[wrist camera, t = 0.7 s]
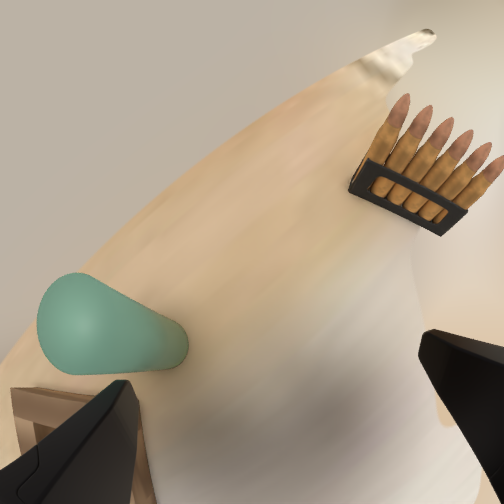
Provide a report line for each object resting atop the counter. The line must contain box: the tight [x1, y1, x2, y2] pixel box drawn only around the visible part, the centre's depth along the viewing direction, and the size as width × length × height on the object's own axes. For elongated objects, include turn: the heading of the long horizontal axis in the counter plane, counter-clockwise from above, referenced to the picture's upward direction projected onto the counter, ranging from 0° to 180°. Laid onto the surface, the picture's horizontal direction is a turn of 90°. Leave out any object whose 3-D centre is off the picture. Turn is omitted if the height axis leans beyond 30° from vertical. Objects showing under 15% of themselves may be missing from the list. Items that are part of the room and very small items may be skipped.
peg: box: [37, 273, 188, 375], centre depth 15 cm, size 4×4×12 cm
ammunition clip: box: [348, 93, 504, 237], centre depth 20 cm, size 11×2×12 cm, turn 66°
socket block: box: [10, 387, 157, 504], centre depth 15 cm, size 11×11×4 cm
